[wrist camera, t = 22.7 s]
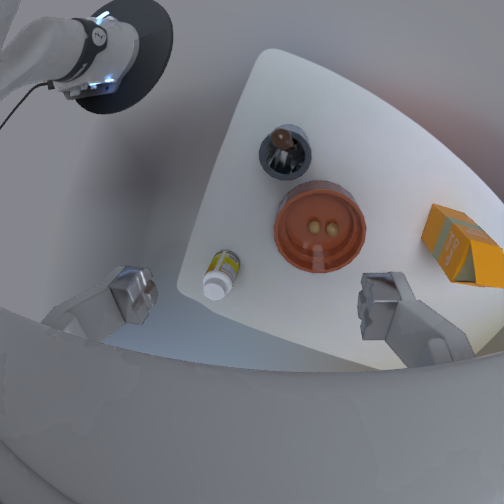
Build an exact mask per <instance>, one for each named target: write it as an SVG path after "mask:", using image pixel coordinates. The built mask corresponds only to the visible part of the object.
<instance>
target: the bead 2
mask: <svg viewBox="0 0 504 504" xmlns="http://www.w3.org/2000/svg"><path fill="white" fill-rule="evenodd" d="M326 232H327V234H328V235H329V236H336V235H337V234H338V233H339V227H338V225H337V224H335V223H329V224H328V225H327V227H326Z"/></svg>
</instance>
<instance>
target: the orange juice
mask: <svg viewBox="0 0 504 504" xmlns="http://www.w3.org/2000/svg"><path fill="white" fill-rule="evenodd" d="M421 239H422V240H423V242H424V243H425V244H426V246H427V247H428V249H429V250H430V252H431V253H432V255H433V256H434V258H435V259H436V261H437V262H438V263H439V265H440V266H441V268H442V269H443V271H444V272H445V274H446V275H447V277H448V279H449V280H450V282H452V283H459V284H465V285H471V286H478V287H495V288H504V255H503V249H502V248H500V247H499V246H498V245H497V243H496V242H495V241H494V240H493V239H492V238H491V237H490V236H489V235H488V234H486V232H485V231H484V230H483V229H482V228H481V227H480V226H478V225H477V224H476V223H475V222H474V221H473V220H472V219H470V218H469V217H468V216H467V215H466V214H465V213H462V212H459V211H456V210H453V209H450V208H446V207H443V206H440V205H436V204H432V207H431V210H430V213H429V216H428V220H427V223H426V225H425V228H424V231H423V234H422V237H421Z"/></svg>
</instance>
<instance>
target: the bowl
mask: <svg viewBox="0 0 504 504" xmlns="http://www.w3.org/2000/svg"><path fill="white" fill-rule="evenodd" d="M312 221H317V222H319V223H320V224H321V231H320V232H319V233H318V234H315V235H314V234H311V233H310V232H309V231H308V225H309V223H310V222H312ZM329 223H335V224H337V225H338V227H339V233H338V234H337V235H336V236H329V235H328V234H327V232H326V227H327V225H328V224H329ZM365 236H366V224H365V220H364V216H363V214H362V212H361V210H360V208H359V206H358V204H357V203H356V201H355V199H354V198H353V196H352V195H351V194H350V193H349V192H348V191H346V190H345V189H344V188H343V187H341V186H340V185H337V184H334V183H331V182H328V181H310V182H307V183H304V184H300V185H298V186H297V187H295V188H294V189H293V190H291V191H290V192H288V193H287V195H286V196H285V197H284V199H283V200H282V201H281V203H280V205H279V209H278V212H277V215H276V220H275V224H274V239H275V242H276V245H277V247H278V250H279V252H280V253H281V255H282V256H283V257H284V258H285V259H286V260H287V262H289V263H290V264H292V265H293V266H295V267H297V268H298V269H300V270H304V271H307V272H311V273H327V272H331V271H335V270H339V269H340V268H342V267H344V266H346V265H347V264H349V263H350V262H351V261H352V260H353V259H354V258H355V257H356V256H357V255H358V254H359V252H360V250H361V248H362V246H363V244H364V242H365Z"/></svg>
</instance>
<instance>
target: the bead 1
mask: <svg viewBox="0 0 504 504" xmlns="http://www.w3.org/2000/svg"><path fill="white" fill-rule="evenodd" d="M308 231H309V232H310V233H311V234H314V235H315V234H318V233H319V232H320V231H321V224H320V223H319V222H317V221H312V222H310V223H309V225H308Z"/></svg>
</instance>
